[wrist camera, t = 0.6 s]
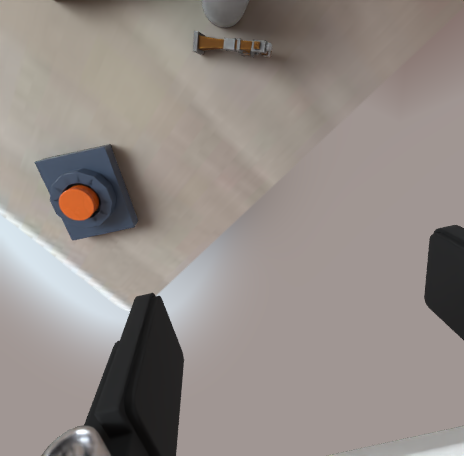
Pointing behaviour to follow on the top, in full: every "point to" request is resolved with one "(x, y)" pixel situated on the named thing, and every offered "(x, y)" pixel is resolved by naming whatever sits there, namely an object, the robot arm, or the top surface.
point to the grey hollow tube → (224, 11)
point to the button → (79, 202)
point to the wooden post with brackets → (231, 45)
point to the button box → (99, 180)
